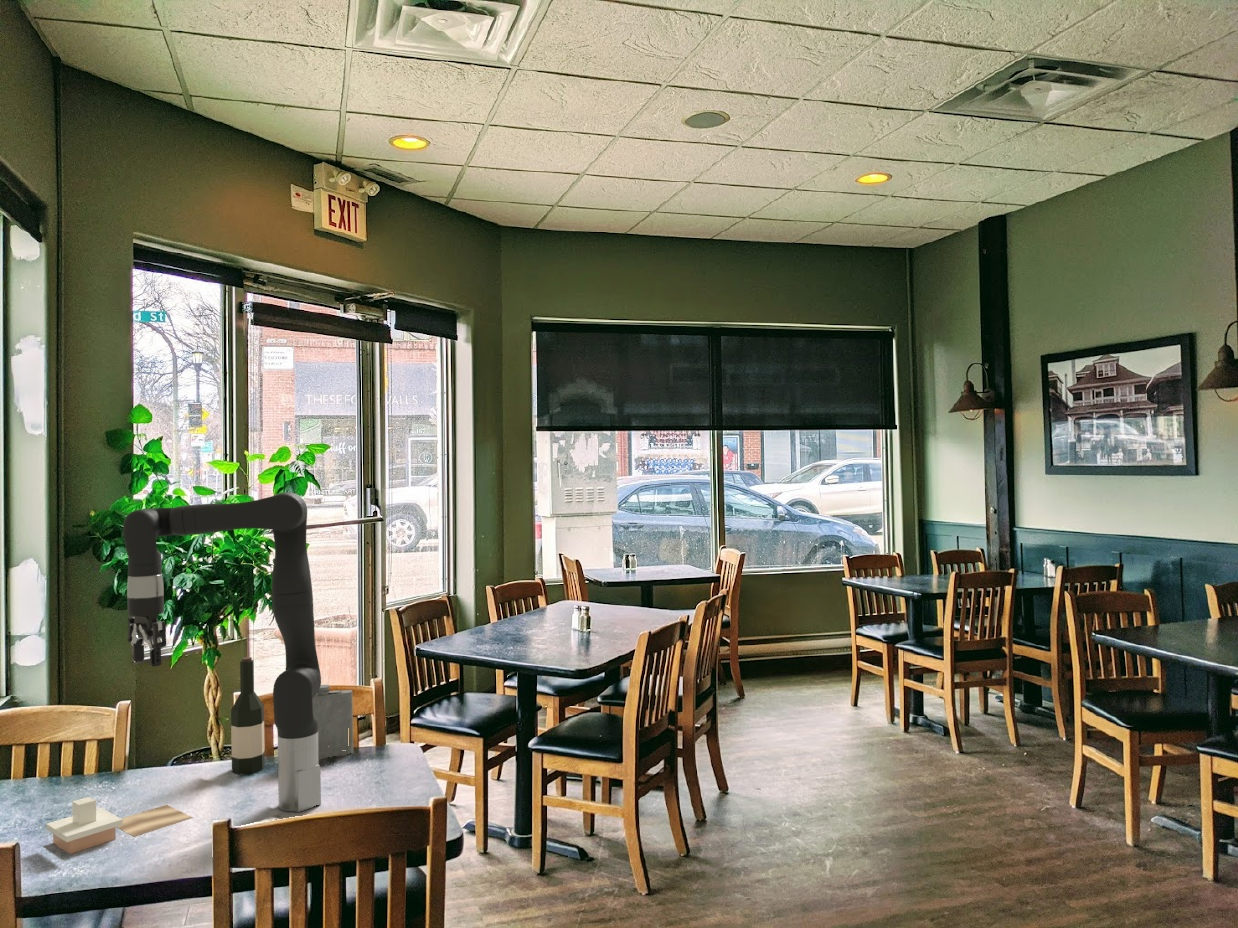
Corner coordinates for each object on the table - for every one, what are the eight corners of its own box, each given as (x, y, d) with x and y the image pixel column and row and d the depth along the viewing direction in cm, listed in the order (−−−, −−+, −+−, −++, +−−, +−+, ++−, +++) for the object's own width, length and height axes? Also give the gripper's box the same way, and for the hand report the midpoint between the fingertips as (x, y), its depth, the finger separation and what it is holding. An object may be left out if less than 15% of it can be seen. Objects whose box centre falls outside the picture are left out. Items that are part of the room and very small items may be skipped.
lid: (122, 824, 194) (122, 798, 194) (66, 842, 185) (66, 814, 185) (101, 812, 201) (100, 787, 201) (46, 829, 192) (45, 802, 192)
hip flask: (296, 764, 244) (295, 691, 244) (293, 760, 247) (292, 688, 247) (354, 753, 253) (353, 682, 252) (350, 749, 256) (349, 680, 256)
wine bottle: (253, 775, 236) (251, 661, 236) (224, 773, 237) (223, 660, 237) (271, 764, 244) (269, 655, 244) (244, 762, 246) (242, 654, 245)
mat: (193, 821, 205) (193, 817, 205) (134, 841, 195) (134, 836, 195) (166, 808, 213) (166, 804, 213) (108, 826, 203) (108, 822, 203)
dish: (115, 843, 194) (115, 825, 194) (70, 858, 187) (69, 839, 187) (98, 833, 200) (97, 815, 199) (53, 847, 192) (52, 828, 192)
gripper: (176, 594, 207) (178, 664, 207) (148, 590, 216) (149, 657, 216) (143, 598, 201) (144, 670, 201) (115, 594, 210) (116, 662, 210)
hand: (147, 663), depth 209 cm, fingers open, 8 cm apart
